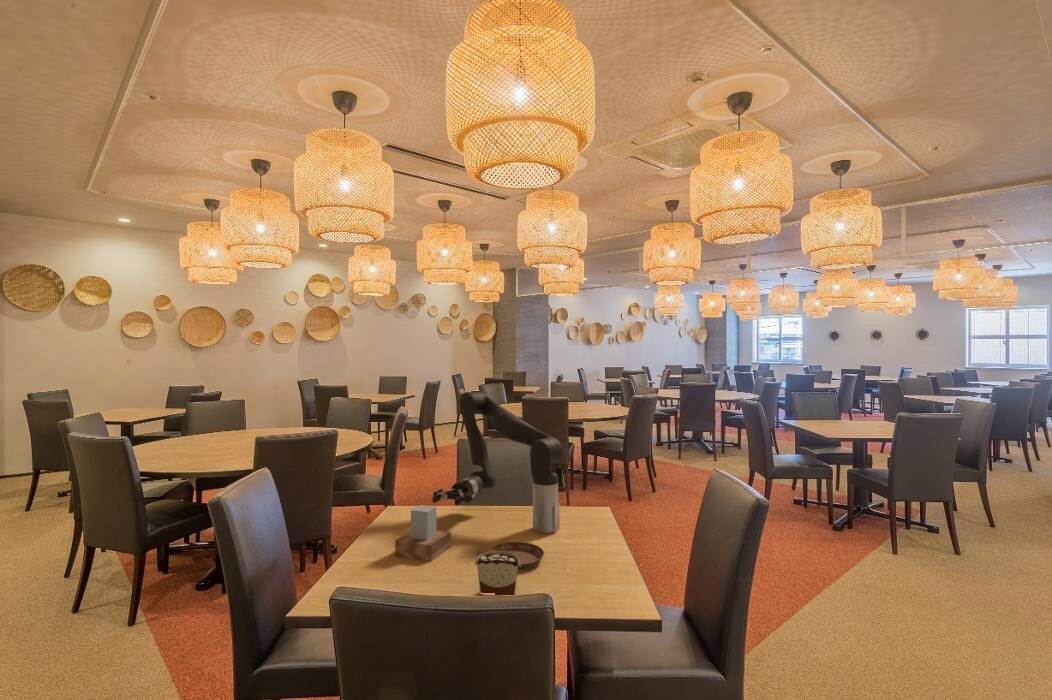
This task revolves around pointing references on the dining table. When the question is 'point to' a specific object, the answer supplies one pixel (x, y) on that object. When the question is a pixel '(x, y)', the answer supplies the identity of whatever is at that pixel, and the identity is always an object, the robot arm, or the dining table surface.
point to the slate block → (423, 522)
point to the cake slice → (497, 572)
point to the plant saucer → (522, 553)
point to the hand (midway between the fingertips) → (444, 501)
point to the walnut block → (423, 546)
